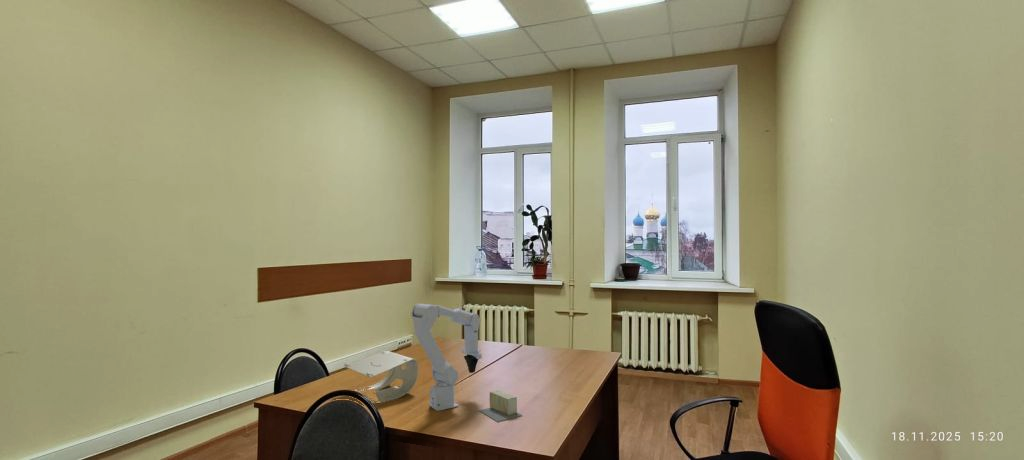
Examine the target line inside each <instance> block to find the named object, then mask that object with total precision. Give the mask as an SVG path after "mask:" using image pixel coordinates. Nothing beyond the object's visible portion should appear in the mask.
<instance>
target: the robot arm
mask: <svg viewBox="0 0 1024 460" xmlns="http://www.w3.org/2000/svg"><path fill="white" fill-rule="evenodd" d="M410 316H411V317H412V321H413V330H414V334H415V336H416V337H417V339H418V342H419V343H420V345H421V347H422V349H423V351H424V352H425V354H426V356H427V358H428V359H429V361H430V363H431V366H432V367H430V370H431V372H432V378H433V380H434V381H435V385H433V386H430V389H429V407H431V408H432V409H434V410H435V411H436V412H440V411H443V410H448V409H452V408H457V407H459V404H457V403H455V385H456V383H457V381H458V378H459V373H458V372H459V371H458V370H457V369H455V368H454V367H453V365H452V364H451V363H449V362H448V361H447V360H446V358H445V356H444V354H443V353H442V350H441V349H440V346H439V345H438V343H437V342H436V340H435V338H434V336H433V334H432V332H431V329H432V328H433V326H434V324H435V323H436V321H437V319H438V318H440V317H441V316H442V317H447V318H450V320H451V322H453V323H456V324H460V325H463V326H464V347H462V348H461V352H462V354H463V353H464V354H465V355H464V356H463V358H464V360H465V363H466V365H467V368H468V373H470V374H474V373H475V371H476V368H477V364H478V362H479V360H480V359H481V360H482V359H483V358H482V356H483V355H482V353H481V349H479V329H480V328H479V326H480V324H481V319H480V316H479V314H478V313H475V312H474V313H473V312H471V311H470V310H464V309H463V308H462V307H458V308H454V309H450V308H448V307H444V306H442V305H438V304H429V303H428V304H427V303H421V302H420V303H419V302H418V303H416V304H415V305H414V306H413V307H412V310H411V314H410Z"/></svg>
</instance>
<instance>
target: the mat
mask: <svg viewBox="0 0 1024 460" xmlns="http://www.w3.org/2000/svg"><path fill="white" fill-rule="evenodd" d="M479 412H480V413H482V414H483V415H485V416H487V417H489V418H490V419H492V420H493V421H495V422H497V423H500V422H503V421H508V420H512V419H516V418H519V417H522V416H523V415H522V414H521V413H519V412H517V413H514V414H511V415H507V414H505V413H503V412H500V411H498V410H496V409H493V408H491V407H486V408H484V409H479Z"/></svg>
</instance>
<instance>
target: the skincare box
mask: <svg viewBox="0 0 1024 460" xmlns="http://www.w3.org/2000/svg"><path fill="white" fill-rule="evenodd" d="M489 408H493V409H496V410H498V411H500V412H503V413H505V414H507V415H511V414H514V413H518V399H517V396H515V395H512V394H510V393H507V392H504V391H502V390H499V389H495V390H492V391H489Z"/></svg>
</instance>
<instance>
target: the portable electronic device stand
mask: <svg viewBox="0 0 1024 460" xmlns="http://www.w3.org/2000/svg"><path fill="white" fill-rule="evenodd" d="M403 364H405V368H404V367H403ZM344 368H346V369H349V370H351V371H354V372H356V373H359V374H360V375H363V376H366V377H368V378H373V377H376V376H378V375H380V374H381V375H382V374H383V373H385V372H387V374H386V375H385V376H384V378H382V379H380V380H379V381H378V382H377V383H375V384H371V385H370V386H368V387H371V388H369V389H367V390H370V389H375V391H376V393H374V392H373V393H374V394H376V396H377V398H378V401H380V402H381V403H380V404H383V403H387V402H391V401H394V399H395V400H397V399H399V398H401V397H403V396H405V395H406V394H409V392H410V391H411V390H412V389H413V388H414V386H415V385H416V383H417V381H418V376H419V362H418V361H417V359H415V358H412V357H409V356H405V355H403V354H399V353H396V352H393V351H389V350H383V351H381V352H378V353H376V354H373V355H371V356H367V357H364V358H362V359H359V360H356V361H353V362H350V363H348V364H347V363H344ZM397 379H399V380H400V381H401V380H402V383H401V385H399V386H400V387H397V386H398V385H395V386H390V387H388V386H389V385H391V384H392V383H394V382H395V380H397ZM354 390H355V391H357V389H354ZM377 390H378V392H377ZM361 391H362V390H361ZM363 391H364V389H363ZM359 392H360V391H359ZM365 392H366V391H365ZM365 392H364V393H365ZM361 393H362V392H361ZM362 394H363V393H362ZM365 394H366V393H365ZM365 394H364V395H365ZM365 396H367V395H365ZM367 397H368V396H367ZM369 399H370V398H369ZM371 399H372V398H371ZM371 399H370V400H371ZM390 400H391V401H390ZM371 401H372V400H371ZM373 401H374V400H373ZM373 401H372V402H373ZM386 401H387V402H386ZM376 402H377V401H374V403H376ZM382 402H383V403H382Z"/></svg>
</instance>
